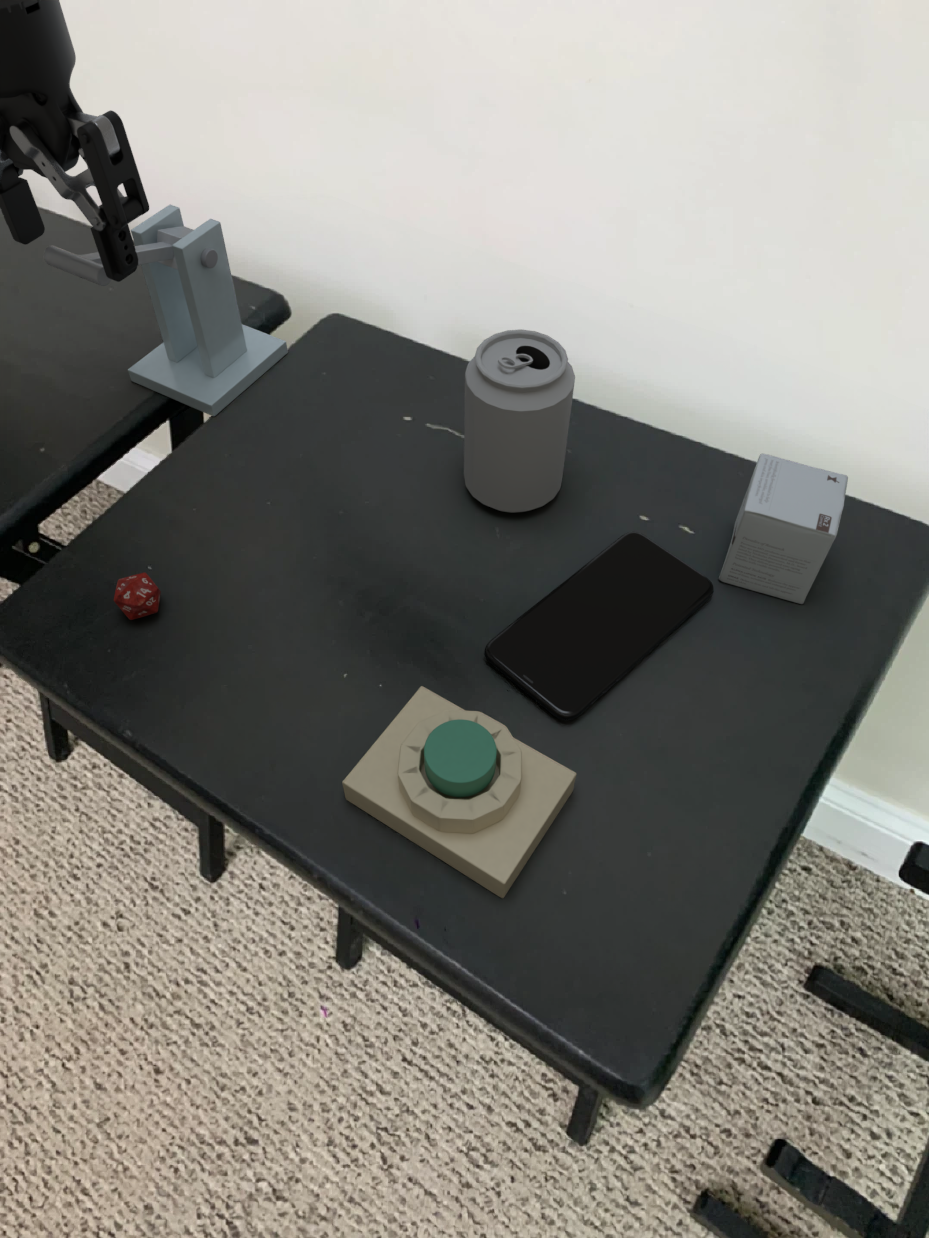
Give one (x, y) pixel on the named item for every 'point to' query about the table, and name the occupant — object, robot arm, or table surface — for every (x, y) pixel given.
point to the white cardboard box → (784, 528)
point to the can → (516, 420)
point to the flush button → (460, 758)
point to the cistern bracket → (199, 322)
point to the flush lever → (92, 264)
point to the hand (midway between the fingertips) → (76, 256)
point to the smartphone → (598, 624)
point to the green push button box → (461, 826)
